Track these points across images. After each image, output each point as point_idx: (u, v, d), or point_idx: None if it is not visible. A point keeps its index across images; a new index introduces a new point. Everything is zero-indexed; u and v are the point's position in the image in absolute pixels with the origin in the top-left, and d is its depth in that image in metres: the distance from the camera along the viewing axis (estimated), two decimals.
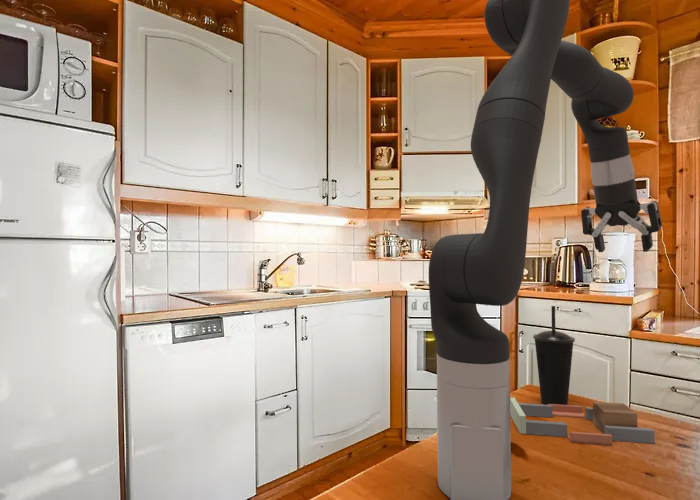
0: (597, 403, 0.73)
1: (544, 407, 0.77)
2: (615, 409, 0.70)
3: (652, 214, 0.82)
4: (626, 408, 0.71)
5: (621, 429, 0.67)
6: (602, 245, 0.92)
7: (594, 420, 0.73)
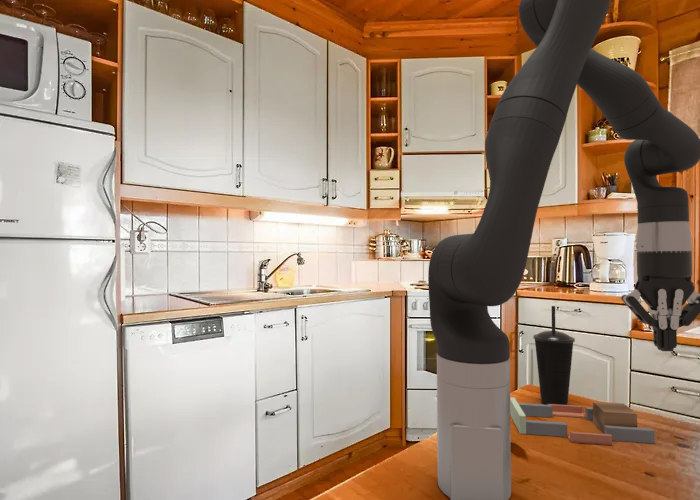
0: (597, 403, 0.73)
1: (544, 407, 0.77)
2: (615, 409, 0.70)
3: None
4: (626, 408, 0.71)
5: (621, 429, 0.67)
6: None
7: (594, 420, 0.73)
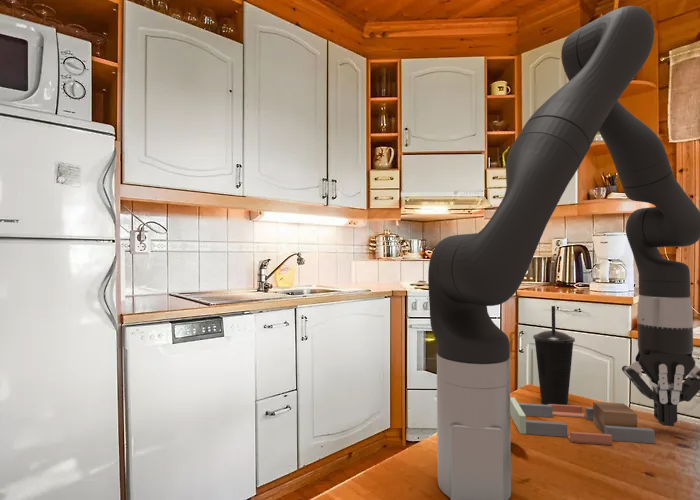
0: (597, 403, 0.73)
1: (544, 407, 0.77)
2: (615, 409, 0.70)
3: None
4: (626, 408, 0.71)
5: (621, 429, 0.67)
6: None
7: (594, 420, 0.74)
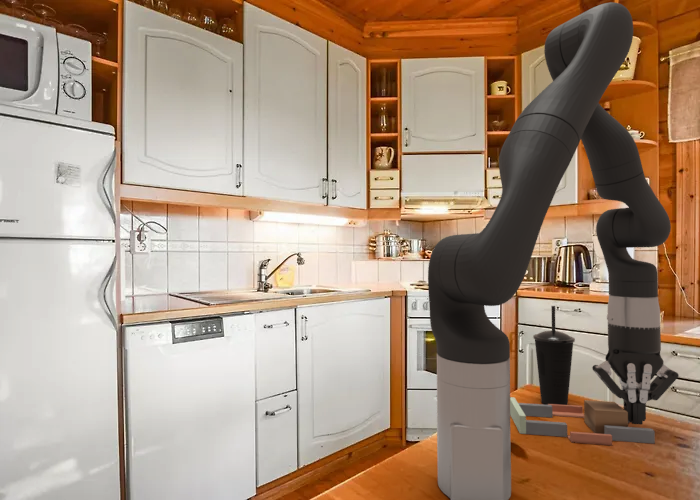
0: (588, 401, 0.73)
1: (544, 407, 0.77)
2: (606, 407, 0.71)
3: (668, 382, 0.69)
4: (617, 406, 0.71)
5: (621, 429, 0.67)
6: None
7: (585, 418, 0.74)
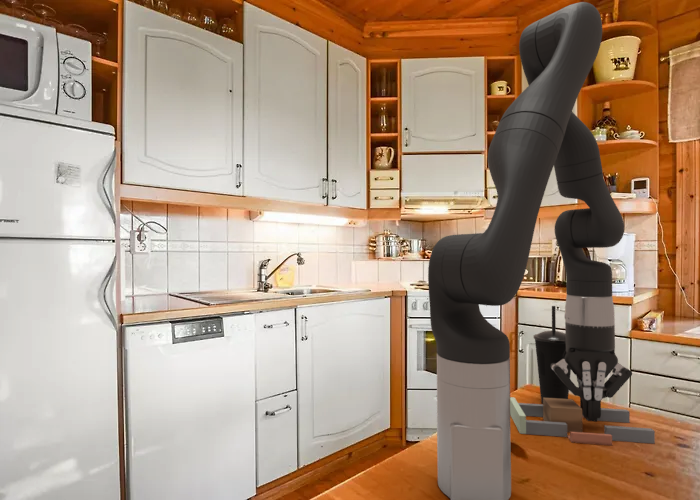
0: (547, 399, 0.75)
1: None
2: (562, 404, 0.72)
3: (622, 380, 0.70)
4: (573, 404, 0.72)
5: (621, 429, 0.67)
6: None
7: (544, 416, 0.75)
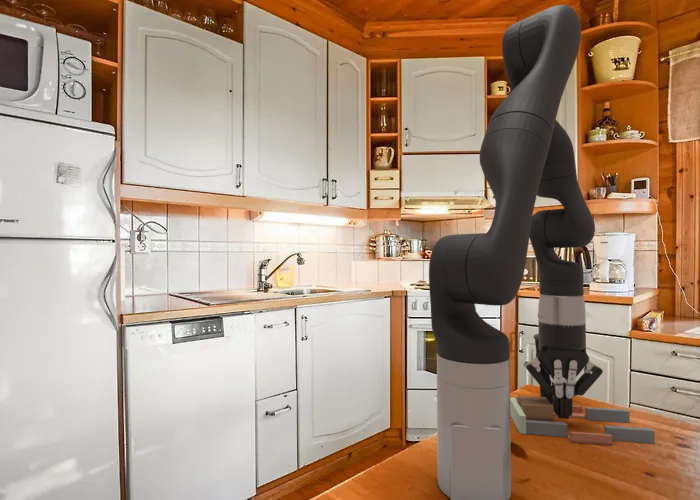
0: (520, 397, 0.76)
1: None
2: (535, 402, 0.73)
3: (593, 378, 0.71)
4: (546, 402, 0.73)
5: (621, 429, 0.67)
6: None
7: None
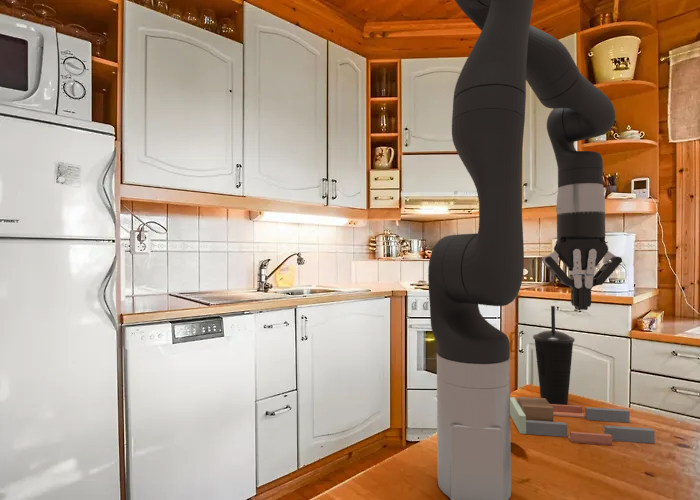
0: (520, 398, 0.76)
1: None
2: (534, 403, 0.73)
3: (612, 267, 0.71)
4: (545, 403, 0.73)
5: (621, 429, 0.67)
6: None
7: None
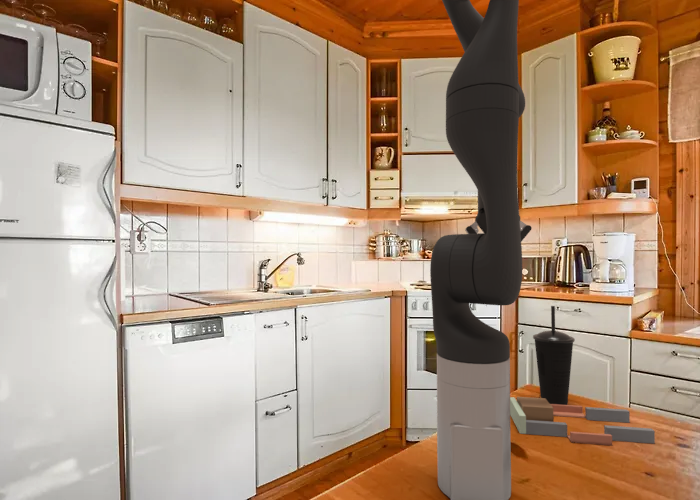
0: (520, 398, 0.76)
1: None
2: (534, 403, 0.73)
3: (523, 234, 0.80)
4: (545, 403, 0.73)
5: (621, 429, 0.67)
6: None
7: None
